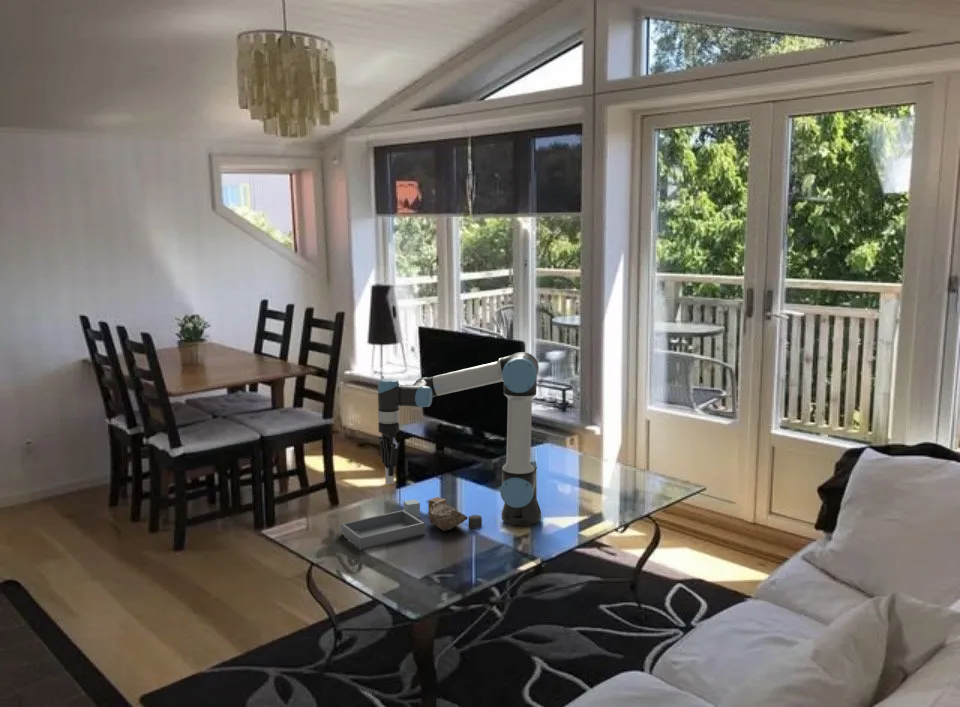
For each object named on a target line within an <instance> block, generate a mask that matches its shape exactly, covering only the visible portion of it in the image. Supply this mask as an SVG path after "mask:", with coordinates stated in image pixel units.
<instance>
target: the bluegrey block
mask: <svg viewBox="0 0 960 707" xmlns="http://www.w3.org/2000/svg"><path fill="white" fill-rule="evenodd" d="M403 510H404V511H406V512H408V513H409V514H411V515H413V516H414V517H416V518H417V519H419V518H421V503H420V502H419V501H418V500H417V499H415V498H414V499H409V500H403Z"/></svg>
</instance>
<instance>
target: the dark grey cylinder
mask: <svg viewBox="0 0 960 707" xmlns="http://www.w3.org/2000/svg"><path fill="white" fill-rule="evenodd" d="M482 520H483V517H482V516H481V515H479V514H472V515H469V516H468V529H470V530H473V529H474V530H475V529H478V528H480V527H482V524H483V522H482Z"/></svg>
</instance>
